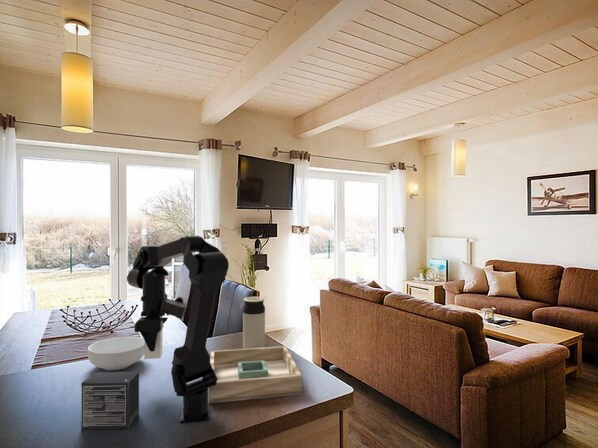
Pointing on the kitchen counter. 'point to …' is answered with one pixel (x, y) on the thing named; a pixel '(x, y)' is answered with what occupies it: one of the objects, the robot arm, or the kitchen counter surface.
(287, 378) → the walled box
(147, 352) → the grey plug
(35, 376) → the kitchen counter surface
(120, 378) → the small box
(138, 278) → the robot arm
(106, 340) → the cereal bowl
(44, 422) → the kitchen counter surface
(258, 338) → the travel mug
